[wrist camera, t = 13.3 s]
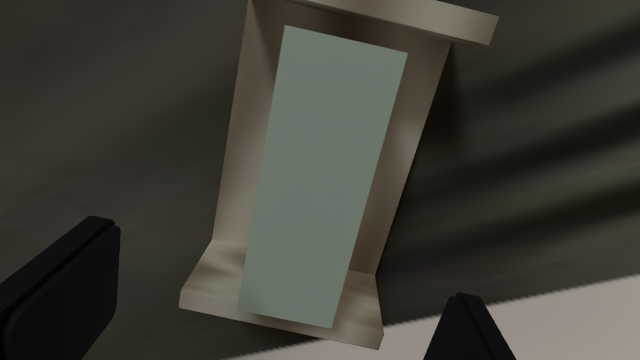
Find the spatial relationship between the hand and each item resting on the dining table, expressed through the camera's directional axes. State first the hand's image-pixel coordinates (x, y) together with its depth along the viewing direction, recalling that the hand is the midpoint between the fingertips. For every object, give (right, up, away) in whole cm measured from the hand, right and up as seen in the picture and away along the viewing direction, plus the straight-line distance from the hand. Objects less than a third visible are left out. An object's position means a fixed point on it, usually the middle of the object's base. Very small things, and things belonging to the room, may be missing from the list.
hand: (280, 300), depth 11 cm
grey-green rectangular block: (+1, +4, +11) cm, 12 cm away
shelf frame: (+1, +6, +16) cm, 17 cm away
